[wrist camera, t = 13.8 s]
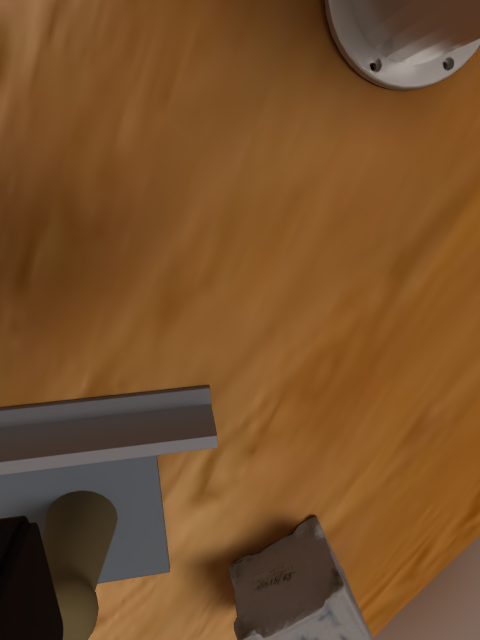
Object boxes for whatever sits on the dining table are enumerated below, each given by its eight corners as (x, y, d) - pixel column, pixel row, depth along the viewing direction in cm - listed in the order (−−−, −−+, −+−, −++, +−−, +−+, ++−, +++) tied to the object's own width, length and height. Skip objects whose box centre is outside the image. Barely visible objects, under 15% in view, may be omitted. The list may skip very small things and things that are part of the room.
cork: (131, 511, 40) (119, 626, 30) (90, 558, 41) (64, 686, 31) (73, 478, 39) (39, 588, 28) (31, 528, 39) (-18, 652, 29)
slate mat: (154, 438, 39) (154, 442, 39) (169, 567, 44) (169, 572, 43) (-18, 459, 38) (-21, 463, 37) (15, 591, 42) (13, 597, 41)
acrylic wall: (209, 385, 39) (215, 417, 33) (212, 426, 40) (219, 464, 35) (-71, 415, 36) (-112, 456, 30) (-59, 459, 37) (-96, 505, 32)
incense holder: (311, 504, 44) (352, 597, 34) (340, 563, 47) (386, 664, 37) (219, 549, 44) (235, 656, 34) (254, 605, 47) (277, 719, 37)
